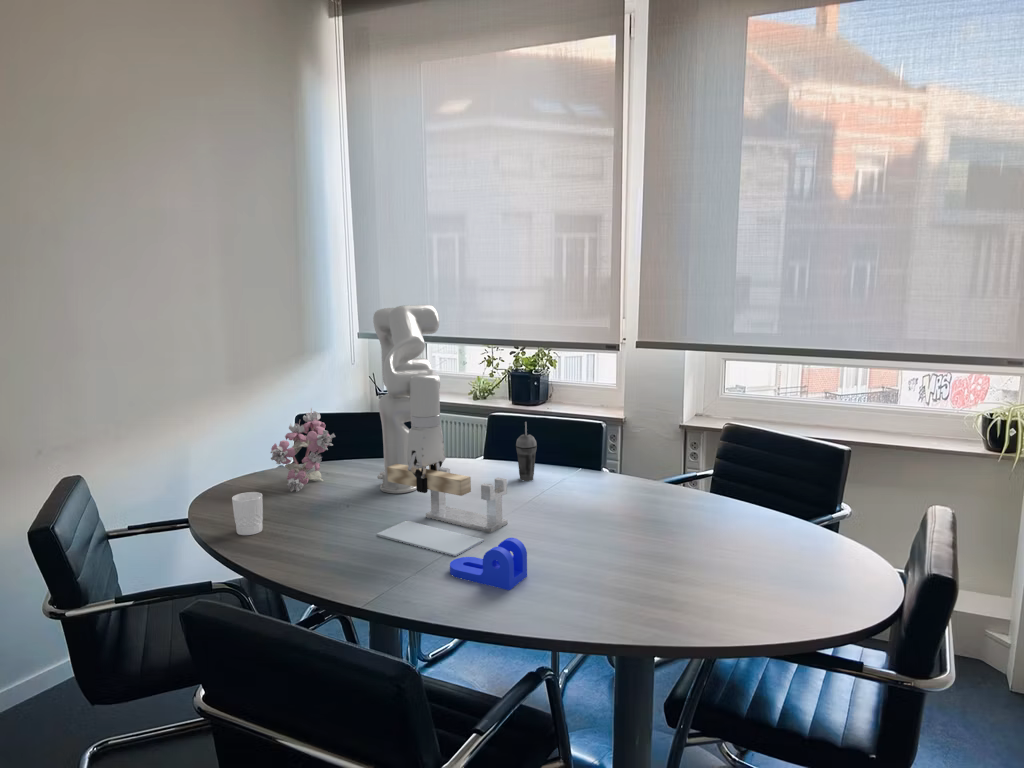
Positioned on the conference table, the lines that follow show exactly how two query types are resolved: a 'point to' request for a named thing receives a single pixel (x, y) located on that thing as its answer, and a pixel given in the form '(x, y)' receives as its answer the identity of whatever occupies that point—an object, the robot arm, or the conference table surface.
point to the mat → (430, 538)
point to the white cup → (248, 512)
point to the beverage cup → (526, 455)
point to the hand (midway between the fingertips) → (428, 489)
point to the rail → (431, 480)
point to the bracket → (495, 565)
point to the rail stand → (470, 518)
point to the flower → (312, 444)
